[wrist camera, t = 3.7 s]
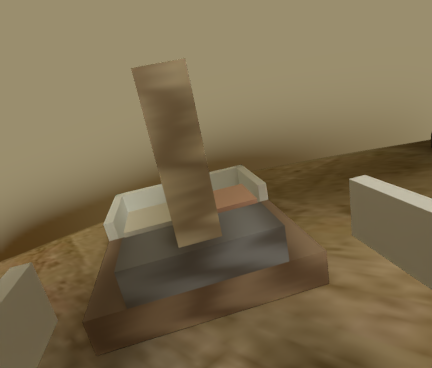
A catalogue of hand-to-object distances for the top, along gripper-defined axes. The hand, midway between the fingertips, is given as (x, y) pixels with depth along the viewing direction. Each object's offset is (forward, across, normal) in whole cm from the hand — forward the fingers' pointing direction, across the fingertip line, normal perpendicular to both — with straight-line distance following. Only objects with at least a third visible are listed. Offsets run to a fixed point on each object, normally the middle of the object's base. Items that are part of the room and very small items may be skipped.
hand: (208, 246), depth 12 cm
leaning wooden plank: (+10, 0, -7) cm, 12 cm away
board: (+13, 0, -10) cm, 16 cm away
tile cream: (+16, -4, -7) cm, 17 cm away
